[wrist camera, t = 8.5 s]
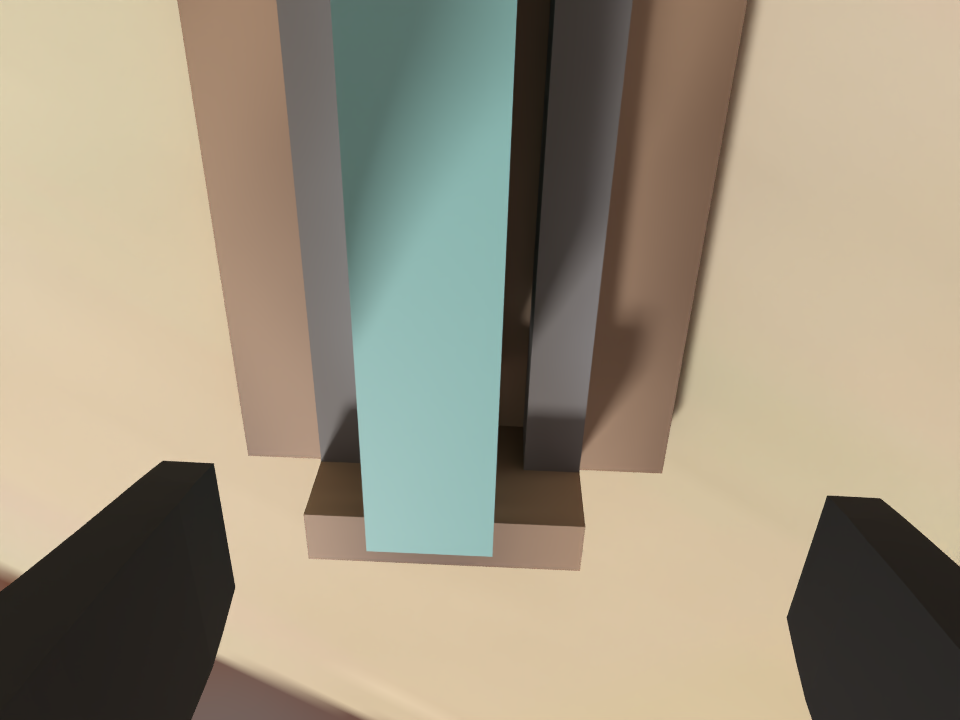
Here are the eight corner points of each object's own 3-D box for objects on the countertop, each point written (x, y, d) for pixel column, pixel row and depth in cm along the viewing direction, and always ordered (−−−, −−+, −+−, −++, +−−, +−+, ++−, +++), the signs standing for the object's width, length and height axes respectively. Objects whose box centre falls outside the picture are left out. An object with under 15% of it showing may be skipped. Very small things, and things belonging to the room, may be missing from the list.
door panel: (528, -347, 12) (540, -522, 7) (498, 360, 18) (492, 556, 13) (391, -350, 12) (295, -525, 7) (409, 356, 18) (366, 551, 13)
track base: (833, -608, 11) (1005, -868, 7) (654, 443, 20) (687, 575, 17) (113, -621, 11) (-98, -880, 7) (261, 426, 21) (203, 553, 17)
